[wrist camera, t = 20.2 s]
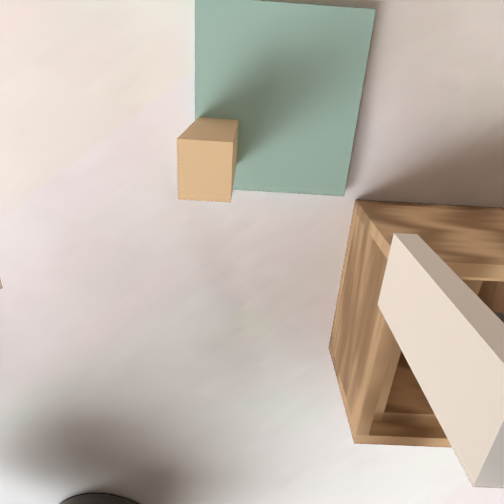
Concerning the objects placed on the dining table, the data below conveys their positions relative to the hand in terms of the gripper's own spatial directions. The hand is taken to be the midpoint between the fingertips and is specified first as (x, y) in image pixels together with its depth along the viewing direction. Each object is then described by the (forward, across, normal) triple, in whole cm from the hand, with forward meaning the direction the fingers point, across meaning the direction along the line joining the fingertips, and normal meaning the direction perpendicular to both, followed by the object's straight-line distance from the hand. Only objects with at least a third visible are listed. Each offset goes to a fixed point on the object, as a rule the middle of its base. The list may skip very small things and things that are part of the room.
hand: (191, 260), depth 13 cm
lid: (+23, +4, +3) cm, 23 cm away
